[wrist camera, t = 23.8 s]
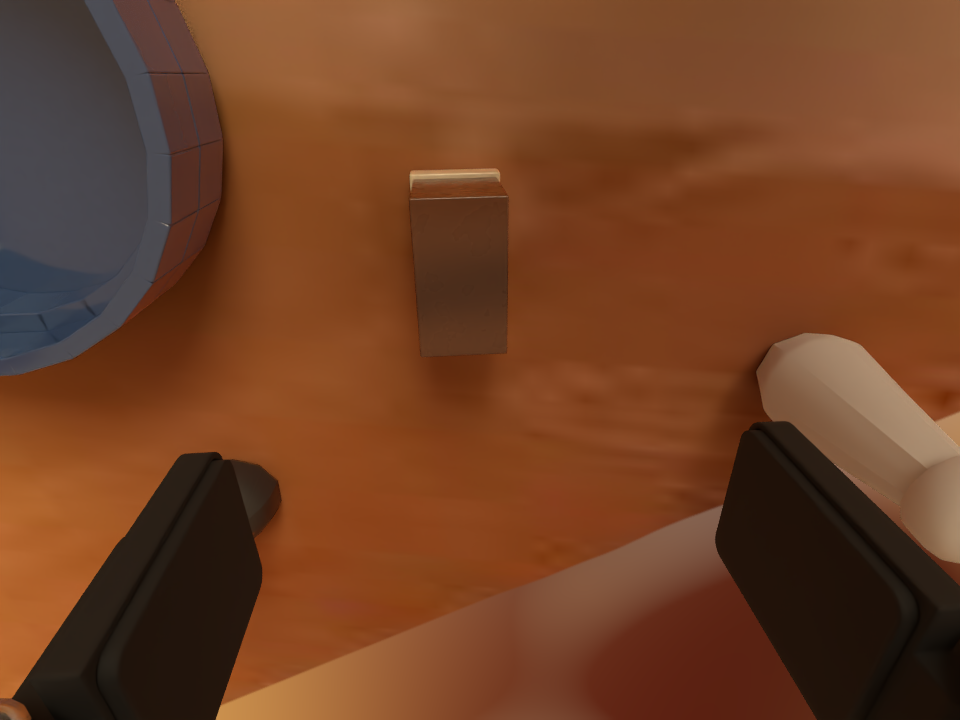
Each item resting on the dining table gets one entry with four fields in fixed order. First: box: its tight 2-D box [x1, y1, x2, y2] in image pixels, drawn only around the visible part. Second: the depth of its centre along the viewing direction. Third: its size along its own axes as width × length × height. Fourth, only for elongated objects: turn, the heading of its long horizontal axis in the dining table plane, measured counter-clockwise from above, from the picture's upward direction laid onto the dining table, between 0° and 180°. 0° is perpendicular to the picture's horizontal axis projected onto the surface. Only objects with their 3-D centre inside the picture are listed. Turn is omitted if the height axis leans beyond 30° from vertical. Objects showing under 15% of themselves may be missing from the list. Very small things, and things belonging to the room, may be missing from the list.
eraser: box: [409, 168, 509, 357], centre depth 24 cm, size 7×4×6 cm, turn 1°
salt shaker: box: [756, 333, 960, 563], centre depth 25 cm, size 6×6×13 cm
